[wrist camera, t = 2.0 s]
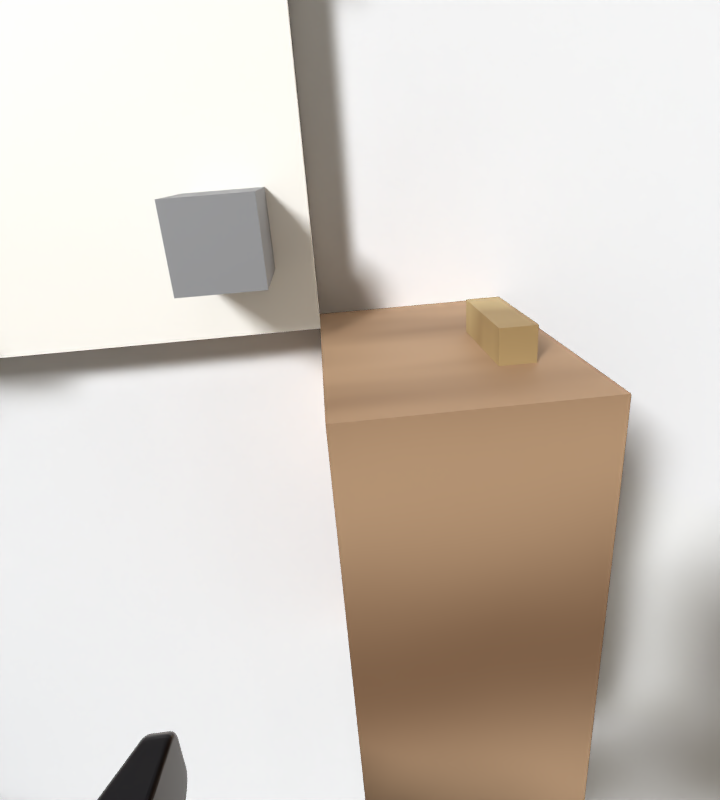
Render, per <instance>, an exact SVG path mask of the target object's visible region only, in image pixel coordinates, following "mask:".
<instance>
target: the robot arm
mask: <svg viewBox="0 0 720 800" xmlns="http://www.w3.org/2000/svg"><path fill="white" fill-rule="evenodd" d="M186 792H187V770H186V766H185V762H184V759H183V755H182V751H181V748H180V744H179V741H178V737H177V735H176V734H175V733H174V732H171V731H169V732H161V733H153V734H149V735H147V736H145V737H144V738H143V739H142V740H141V741H140V742H139V744H138V745H137V747H136V748H135V749H134V751H133V752H132V753H131V755H130V756H129V757H128V759H127V760H126V762H125V763H124V764H123V766H122V767H121V768H120V770H119V771H118V772H117V774H116V775H115V777H114V778H113V779H112V781H111V782H110V783H109V785H108V786H107V787H106V789H105V790H104V791H103V793H102V794H101V796H100V797H99V798H98V800H186Z"/></svg>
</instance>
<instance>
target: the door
mask: <svg viewBox="0 0 720 800" xmlns="http://www.w3.org/2000/svg"><path fill="white" fill-rule="evenodd" d="M320 328H321V329H320V331H321V349H322V367H323V386H324V404H325V422H326V433H327V442H328V451H329V461H330V470H331V480H332V489H333V499H334V508H335V517H336V527H337V536H338V546H339V555H340V564H341V574H342V583H343V593H344V602H345V612H346V621H347V630H348V640H349V649H350V659H351V668H352V677H353V687H354V696H355V706H356V715H357V725H358V734H359V743H360V753H361V762H362V772H363V781H364V790H365V800H584V799H585V790H586V782H587V773H588V764H589V756H590V747H591V738H592V730H593V721H594V712H595V704H596V695H597V687H598V678H599V669H600V661H601V652H602V643H603V635H604V626H605V617H606V609H607V600H608V592H609V583H610V574H611V566H612V557H613V548H614V540H615V531H616V522H617V514H618V505H619V496H620V488H621V479H622V471H623V462H624V453H625V445H626V436H627V427H628V419H629V410H630V401H631V393H629V392H628V391H627V390H625V389H624V388H622V387H621V386H620V385H618V384H617V383H615V382H614V381H613V380H611V379H610V378H608V377H607V376H606V375H604V374H603V373H601V372H600V371H599V370H597V369H596V368H594V367H593V366H592V365H590V364H589V363H587V362H586V361H585V360H583V359H582V358H580V357H579V356H577V355H576V354H575V353H573V352H572V351H570V350H569V349H568V348H566V347H565V346H563V345H562V344H561V343H559V342H558V341H556V340H555V339H554V338H552V337H551V336H549V335H548V334H547V333H545V332H544V331H542V330H541V329H540V328H539V325H538V324H537V323H536V322H534V321H533V320H531V319H530V318H528V317H527V316H526V315H524V314H523V313H521V312H520V311H518V310H517V309H516V308H514V307H513V306H511V305H510V304H508V303H507V302H505V301H504V300H503V299H501V298H500V297H490V298H479V299H468V300H466V301H458V302H447V303H436V304H425V305H414V306H403V307H392V308H381V309H370V310H359V311H348V312H337V313H326V314H320Z"/></svg>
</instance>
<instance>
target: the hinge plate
mask: <svg viewBox="0 0 720 800" xmlns="http://www.w3.org/2000/svg"><path fill="white" fill-rule="evenodd" d="M310 329H321V328H320V313H319V303H318V293H317V283H316V274H315V264H314V254H313V244H312V234H311V225H310V215H309V205H308V195H307V185H306V176H305V166H304V156H303V146H302V136H301V127H300V117H299V107H298V97H297V87H296V78H295V68H294V58H293V48H292V38H291V29H290V19H289V9H288V0H0V358H6V357H17V356H28V355H39V354H49V353H60V352H71V351H82V350H93V349H104V348H115V347H125V346H136V345H147V344H158V343H169V342H180V341H191V340H201V339H212V338H223V337H234V336H245V335H256V334H267V333H277V332H288V331H299V330H310Z"/></svg>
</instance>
